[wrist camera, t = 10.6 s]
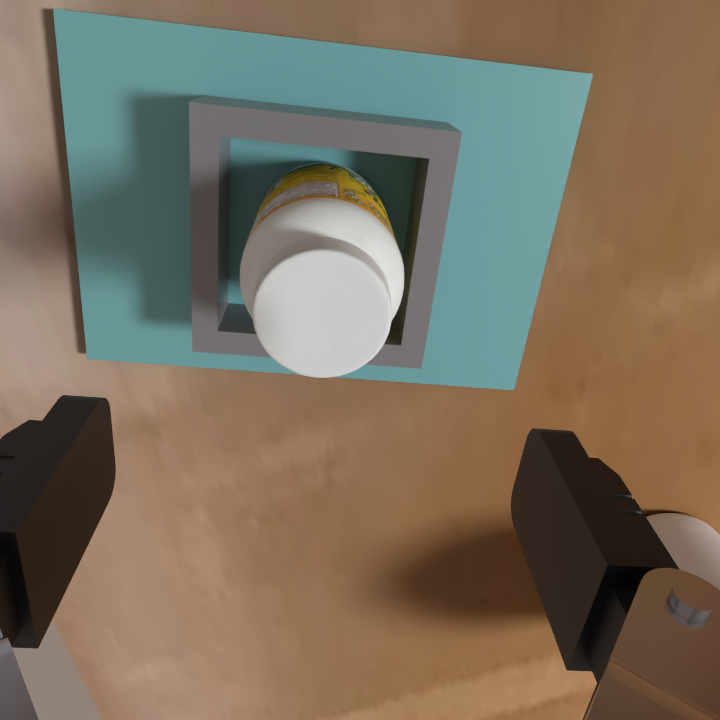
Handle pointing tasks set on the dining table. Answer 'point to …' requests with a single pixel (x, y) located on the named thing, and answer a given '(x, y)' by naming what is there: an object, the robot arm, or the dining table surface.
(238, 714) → the dining table surface
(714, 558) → the pill bottle
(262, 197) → the bottle stand
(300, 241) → the supplement bottle
